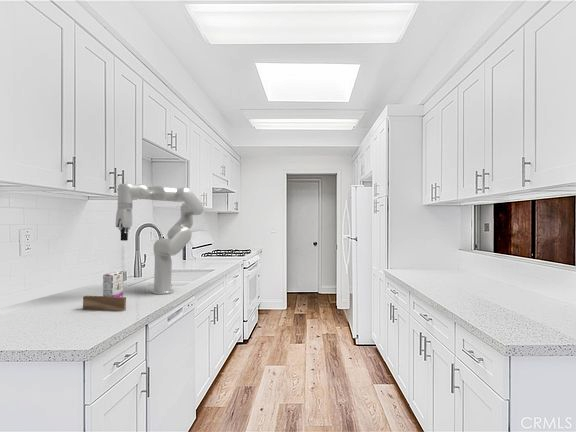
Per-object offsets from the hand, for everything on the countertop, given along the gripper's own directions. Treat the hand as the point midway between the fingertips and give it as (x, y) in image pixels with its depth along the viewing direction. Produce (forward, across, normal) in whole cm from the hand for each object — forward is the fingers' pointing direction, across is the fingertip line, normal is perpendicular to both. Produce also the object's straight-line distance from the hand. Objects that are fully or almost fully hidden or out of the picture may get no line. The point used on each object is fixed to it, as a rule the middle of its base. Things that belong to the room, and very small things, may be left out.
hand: (124, 240), depth 220 cm
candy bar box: (+31, +22, +6) cm, 39 cm away
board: (+31, +28, +6) cm, 43 cm away
